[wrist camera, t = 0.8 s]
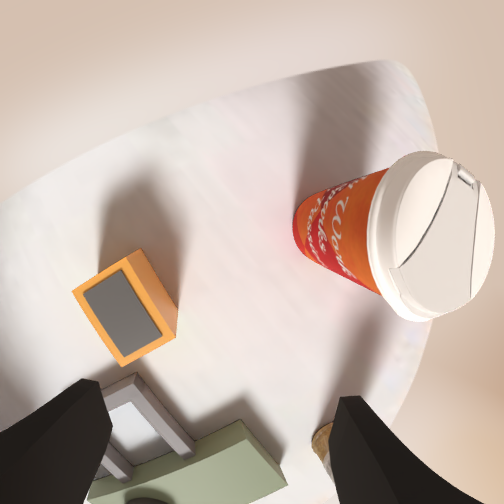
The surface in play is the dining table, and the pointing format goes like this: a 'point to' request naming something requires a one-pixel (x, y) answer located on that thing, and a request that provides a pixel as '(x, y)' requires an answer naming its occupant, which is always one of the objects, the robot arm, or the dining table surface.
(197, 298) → the dining table surface
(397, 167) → the paper cup
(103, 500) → the green block with knob
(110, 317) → the chute block
